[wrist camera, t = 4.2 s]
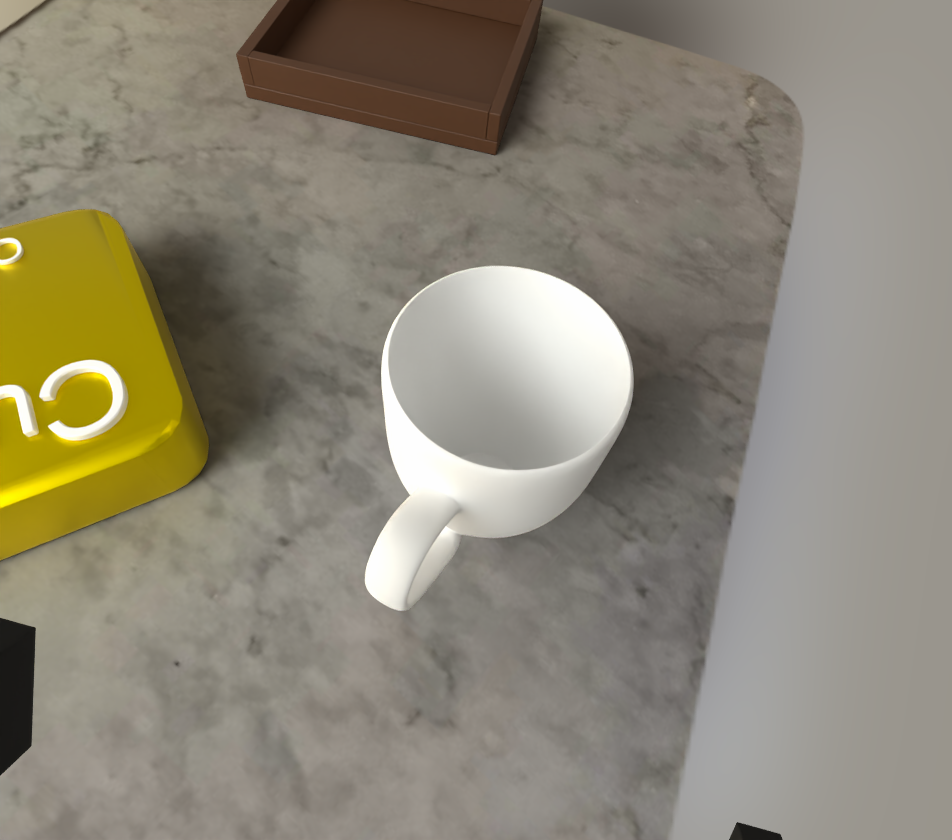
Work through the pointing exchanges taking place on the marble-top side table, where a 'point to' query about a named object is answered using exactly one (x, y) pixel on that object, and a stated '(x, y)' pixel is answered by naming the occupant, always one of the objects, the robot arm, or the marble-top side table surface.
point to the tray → (397, 63)
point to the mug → (492, 415)
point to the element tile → (85, 382)
